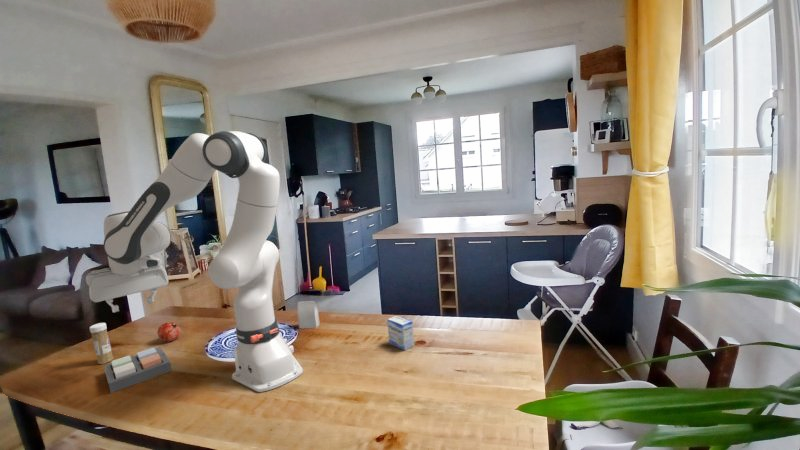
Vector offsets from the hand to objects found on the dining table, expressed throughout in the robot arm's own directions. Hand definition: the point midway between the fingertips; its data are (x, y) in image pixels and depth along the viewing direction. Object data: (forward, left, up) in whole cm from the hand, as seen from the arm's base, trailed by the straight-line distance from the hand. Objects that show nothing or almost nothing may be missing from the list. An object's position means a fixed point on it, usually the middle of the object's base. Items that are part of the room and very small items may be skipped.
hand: (133, 307), depth 122 cm
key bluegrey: (+5, -1, -20) cm, 21 cm away
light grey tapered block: (-12, -52, -22) cm, 58 cm away
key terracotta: (-2, -1, -20) cm, 20 cm away
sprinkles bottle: (+22, +9, -22) cm, 32 cm away
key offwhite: (-2, +6, -20) cm, 21 cm away
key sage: (+5, +6, -20) cm, 21 cm away
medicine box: (-52, -64, -22) cm, 85 cm away
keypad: (+2, +2, -22) cm, 22 cm away
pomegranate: (+22, -11, -22) cm, 33 cm away
